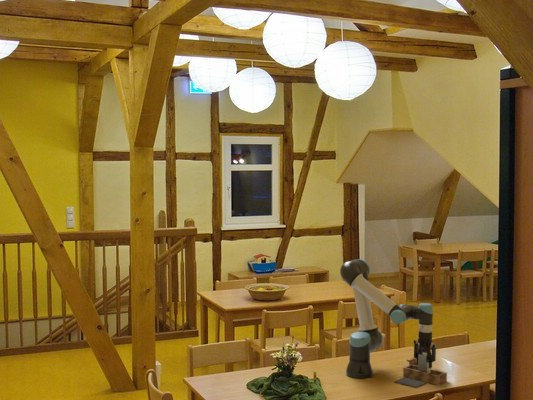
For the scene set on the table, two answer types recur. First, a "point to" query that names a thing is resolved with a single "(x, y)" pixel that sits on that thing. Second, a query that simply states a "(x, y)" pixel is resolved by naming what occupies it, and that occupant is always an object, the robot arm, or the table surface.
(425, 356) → the metal block
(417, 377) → the channel
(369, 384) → the table surface
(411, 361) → the figurine
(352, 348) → the robot arm
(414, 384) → the rubber mat
